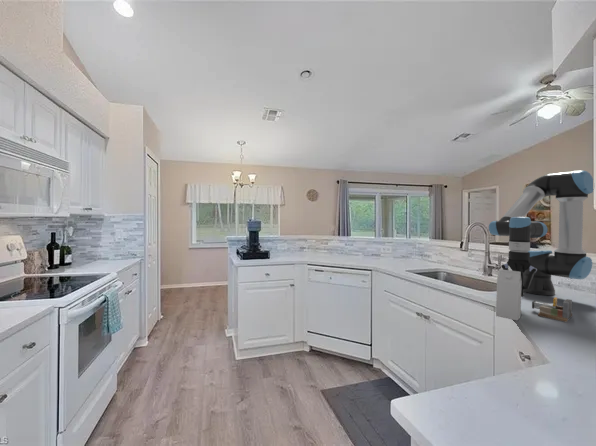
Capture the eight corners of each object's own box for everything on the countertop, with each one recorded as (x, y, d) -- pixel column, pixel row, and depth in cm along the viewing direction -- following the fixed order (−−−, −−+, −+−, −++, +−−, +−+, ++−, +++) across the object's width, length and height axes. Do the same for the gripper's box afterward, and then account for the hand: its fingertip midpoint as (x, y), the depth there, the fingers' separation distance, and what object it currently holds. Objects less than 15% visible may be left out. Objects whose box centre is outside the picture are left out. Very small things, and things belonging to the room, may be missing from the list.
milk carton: (499, 312, 118) (500, 268, 117) (520, 316, 113) (521, 270, 112) (495, 316, 113) (497, 270, 112) (517, 321, 108) (519, 272, 107)
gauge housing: (545, 310, 122) (545, 294, 122) (572, 315, 115) (572, 299, 115) (538, 315, 114) (538, 298, 114) (566, 321, 108) (567, 304, 108)
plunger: (534, 307, 122) (534, 293, 122) (557, 311, 116) (557, 297, 115) (531, 308, 119) (532, 294, 119) (555, 313, 113) (555, 299, 113)
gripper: (499, 250, 127) (497, 300, 128) (535, 253, 117) (533, 308, 117) (504, 249, 132) (503, 298, 132) (540, 252, 121) (538, 305, 122)
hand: (517, 303), depth 125 cm, fingers closed
